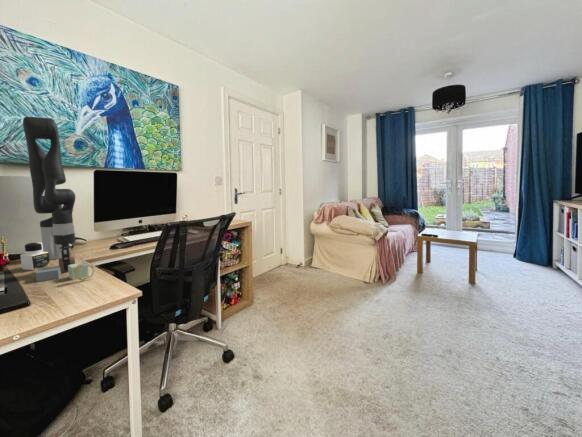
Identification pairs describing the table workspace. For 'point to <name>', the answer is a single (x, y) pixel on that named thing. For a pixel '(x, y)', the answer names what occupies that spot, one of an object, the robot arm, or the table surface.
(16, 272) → the table surface
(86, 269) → the sage cube
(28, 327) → the table surface
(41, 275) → the base block
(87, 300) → the table surface
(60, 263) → the walnut cube
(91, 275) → the bracelet
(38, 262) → the medicine bottle
